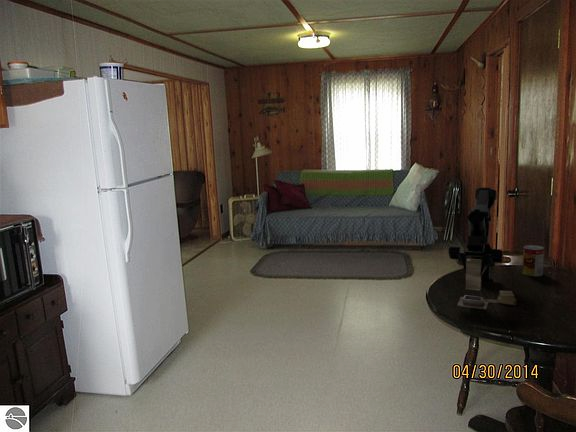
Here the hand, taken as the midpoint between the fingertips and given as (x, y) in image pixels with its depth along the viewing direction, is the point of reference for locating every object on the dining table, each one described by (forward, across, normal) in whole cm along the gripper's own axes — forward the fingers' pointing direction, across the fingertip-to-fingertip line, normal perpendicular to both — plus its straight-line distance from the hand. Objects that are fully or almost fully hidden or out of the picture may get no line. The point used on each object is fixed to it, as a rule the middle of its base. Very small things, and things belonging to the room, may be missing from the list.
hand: (473, 274), depth 171 cm
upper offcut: (+2, +11, +12) cm, 17 cm away
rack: (+6, +5, +11) cm, 14 cm away
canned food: (-25, +19, +43) cm, 53 cm away
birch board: (+3, 0, +5) cm, 6 cm away
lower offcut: (+3, +11, +13) cm, 18 cm away
